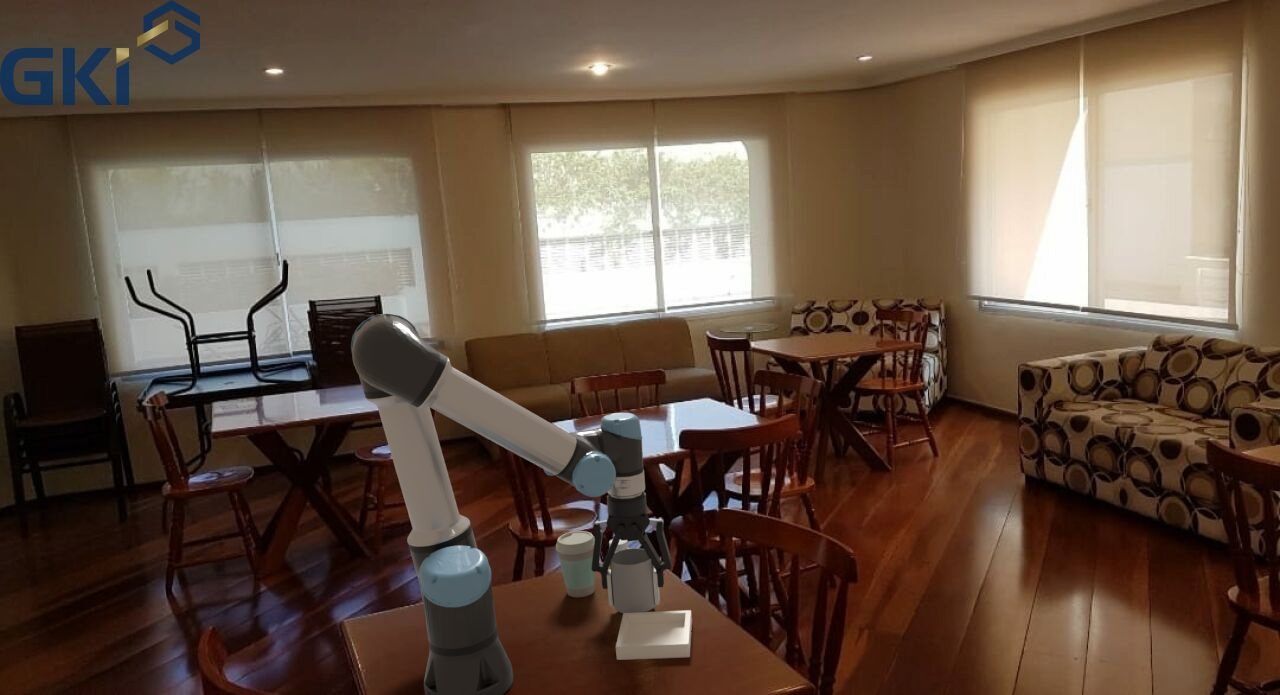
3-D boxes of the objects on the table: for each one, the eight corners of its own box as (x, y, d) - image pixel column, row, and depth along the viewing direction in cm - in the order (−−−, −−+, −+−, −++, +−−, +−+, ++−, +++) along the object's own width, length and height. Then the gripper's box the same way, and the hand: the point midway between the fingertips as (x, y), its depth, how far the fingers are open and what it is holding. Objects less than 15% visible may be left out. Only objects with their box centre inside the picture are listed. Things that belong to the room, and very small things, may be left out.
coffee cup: (585, 579, 197) (579, 527, 195) (609, 590, 190) (603, 536, 188) (552, 592, 191) (546, 539, 189) (576, 604, 185) (570, 548, 183)
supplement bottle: (607, 581, 194) (604, 544, 193) (614, 572, 199) (611, 536, 197) (628, 582, 193) (625, 545, 191) (635, 573, 197) (631, 537, 196)
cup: (651, 614, 174) (647, 565, 173) (609, 613, 176) (605, 565, 174) (658, 595, 182) (655, 548, 181) (619, 594, 184) (615, 548, 182)
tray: (616, 659, 161) (615, 646, 161) (624, 625, 174) (623, 613, 173) (689, 657, 160) (688, 643, 159) (692, 622, 172) (691, 610, 172)
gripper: (569, 501, 173) (578, 612, 176) (679, 497, 171) (687, 609, 174) (575, 488, 180) (584, 595, 184) (681, 484, 178) (688, 592, 182)
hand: (634, 602), depth 179 cm, fingers closed on cup, 8 cm apart
